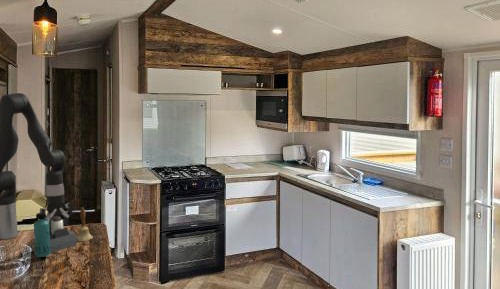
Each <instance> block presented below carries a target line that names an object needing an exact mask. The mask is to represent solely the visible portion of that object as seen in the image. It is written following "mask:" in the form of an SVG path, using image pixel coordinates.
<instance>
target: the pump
mask: <svg viewBox="0 0 500 289" xmlns="http://www.w3.org/2000/svg"><path fill="white" fill-rule="evenodd" d="M50 227H51V235H52V236H53V237H54V231H55V230H59V229H63V228H64V218H62V217H61V216H60V215H56V216H52V218H51V219H50Z"/></svg>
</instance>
